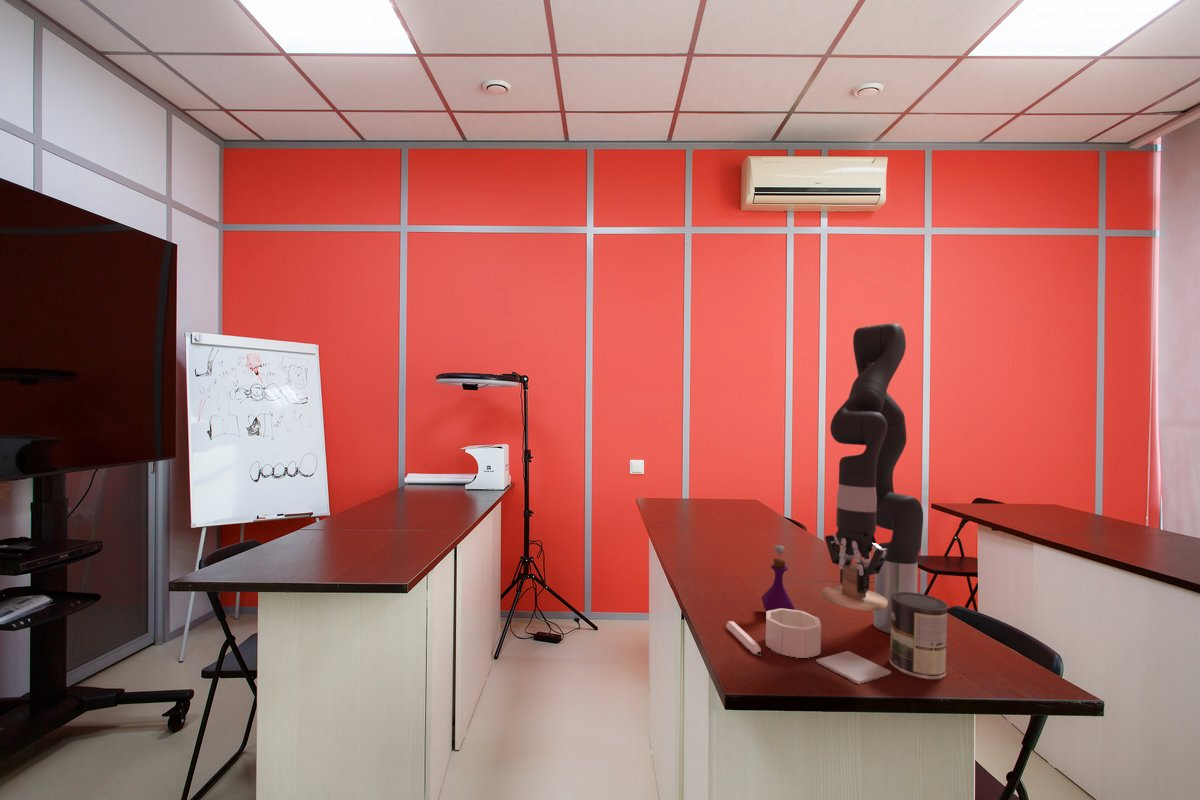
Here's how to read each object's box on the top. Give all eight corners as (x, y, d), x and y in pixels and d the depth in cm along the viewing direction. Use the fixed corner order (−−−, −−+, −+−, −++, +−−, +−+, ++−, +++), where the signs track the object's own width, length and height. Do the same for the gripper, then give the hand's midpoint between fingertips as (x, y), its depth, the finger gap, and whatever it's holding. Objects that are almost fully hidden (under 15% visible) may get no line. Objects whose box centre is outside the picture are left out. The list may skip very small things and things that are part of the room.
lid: (847, 586, 120) (848, 556, 120) (901, 605, 109) (901, 571, 109) (808, 593, 114) (809, 561, 115) (860, 614, 103) (861, 578, 104)
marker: (761, 664, 114) (729, 632, 130) (769, 658, 115) (736, 627, 130) (755, 653, 114) (724, 623, 130) (763, 648, 114) (731, 618, 130)
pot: (790, 633, 128) (791, 606, 129) (830, 652, 118) (831, 623, 118) (754, 641, 123) (755, 613, 123) (793, 662, 113) (794, 632, 113)
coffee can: (884, 668, 112) (886, 600, 112) (895, 651, 120) (896, 588, 120) (942, 685, 105) (944, 613, 106) (949, 667, 113) (951, 599, 114)
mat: (848, 653, 118) (848, 650, 118) (891, 674, 109) (891, 671, 109) (816, 662, 114) (816, 659, 114) (858, 684, 105) (858, 681, 105)
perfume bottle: (794, 623, 135) (796, 550, 135) (763, 619, 136) (765, 548, 136) (790, 612, 142) (792, 543, 142) (761, 609, 144) (762, 541, 144)
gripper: (900, 512, 108) (897, 598, 107) (839, 500, 120) (837, 577, 120) (875, 514, 104) (873, 603, 104) (816, 502, 117) (813, 581, 116)
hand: (854, 589), depth 112 cm, fingers closed on lid, 3 cm apart
